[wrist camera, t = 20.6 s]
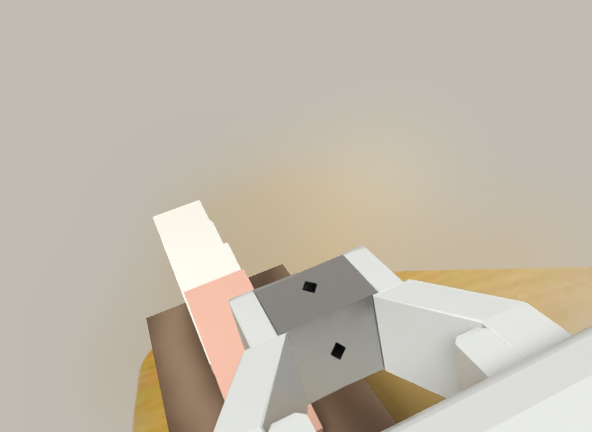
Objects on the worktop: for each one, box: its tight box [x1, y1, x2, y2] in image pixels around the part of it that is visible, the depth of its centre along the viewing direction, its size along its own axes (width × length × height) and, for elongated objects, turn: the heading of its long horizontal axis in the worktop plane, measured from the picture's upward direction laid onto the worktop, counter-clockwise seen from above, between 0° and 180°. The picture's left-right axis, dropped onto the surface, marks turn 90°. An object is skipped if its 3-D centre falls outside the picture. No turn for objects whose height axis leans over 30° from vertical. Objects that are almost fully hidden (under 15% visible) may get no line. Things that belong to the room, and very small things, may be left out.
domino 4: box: [184, 269, 323, 432], centre depth 37 cm, size 5×2×14 cm
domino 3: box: [162, 221, 223, 374], centre depth 45 cm, size 5×2×14 cm
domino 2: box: [173, 243, 241, 292], centre depth 41 cm, size 5×2×14 cm
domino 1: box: [153, 200, 210, 239], centre depth 49 cm, size 5×2×14 cm
